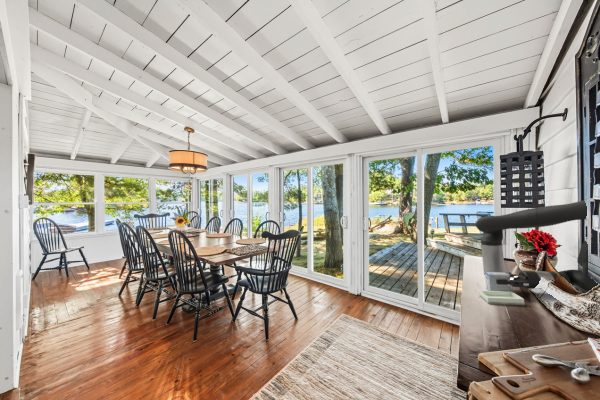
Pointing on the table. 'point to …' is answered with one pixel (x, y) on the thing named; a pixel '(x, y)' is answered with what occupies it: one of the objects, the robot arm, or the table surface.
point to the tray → (501, 297)
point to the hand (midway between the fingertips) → (492, 279)
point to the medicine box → (492, 283)
